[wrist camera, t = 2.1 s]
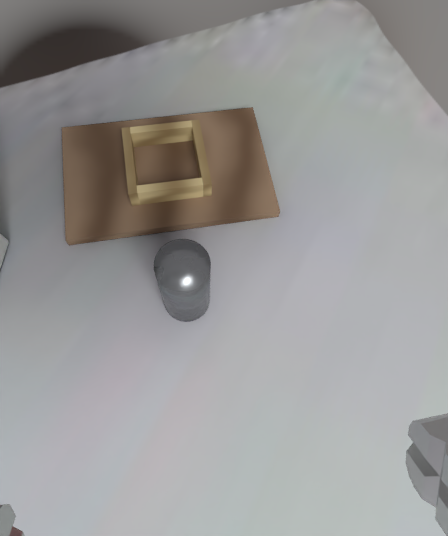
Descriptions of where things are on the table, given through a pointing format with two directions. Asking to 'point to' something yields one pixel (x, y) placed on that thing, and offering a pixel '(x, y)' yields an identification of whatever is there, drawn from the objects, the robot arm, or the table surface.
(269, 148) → the table surface
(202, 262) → the cylinder
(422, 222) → the table surface
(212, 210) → the collar board
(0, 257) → the skincare box
